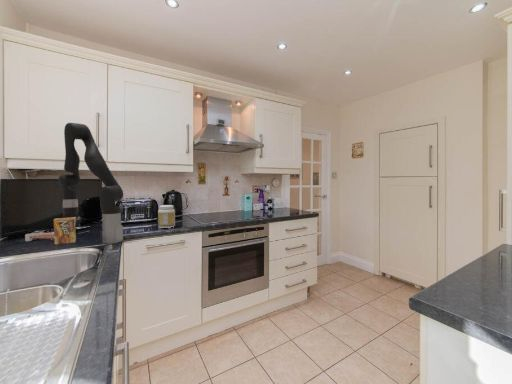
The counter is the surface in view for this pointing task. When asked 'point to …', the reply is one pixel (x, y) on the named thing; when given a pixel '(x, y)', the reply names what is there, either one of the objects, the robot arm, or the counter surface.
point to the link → (44, 235)
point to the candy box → (64, 230)
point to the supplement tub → (166, 216)
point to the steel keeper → (29, 236)
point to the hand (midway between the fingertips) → (71, 233)
